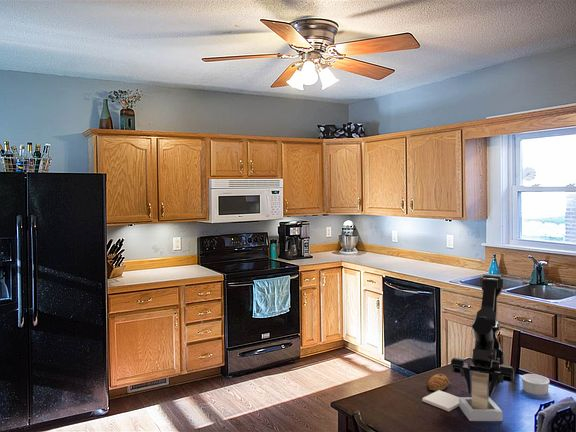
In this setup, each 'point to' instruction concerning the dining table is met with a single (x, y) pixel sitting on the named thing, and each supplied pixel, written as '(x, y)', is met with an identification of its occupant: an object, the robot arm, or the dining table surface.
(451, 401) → the tile
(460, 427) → the dining table surface
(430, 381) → the pastry
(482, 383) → the peg
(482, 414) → the holder
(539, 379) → the ramekin
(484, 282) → the robot arm
